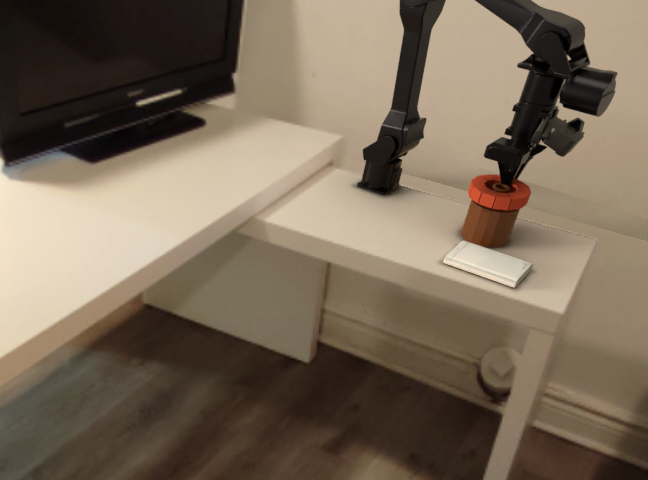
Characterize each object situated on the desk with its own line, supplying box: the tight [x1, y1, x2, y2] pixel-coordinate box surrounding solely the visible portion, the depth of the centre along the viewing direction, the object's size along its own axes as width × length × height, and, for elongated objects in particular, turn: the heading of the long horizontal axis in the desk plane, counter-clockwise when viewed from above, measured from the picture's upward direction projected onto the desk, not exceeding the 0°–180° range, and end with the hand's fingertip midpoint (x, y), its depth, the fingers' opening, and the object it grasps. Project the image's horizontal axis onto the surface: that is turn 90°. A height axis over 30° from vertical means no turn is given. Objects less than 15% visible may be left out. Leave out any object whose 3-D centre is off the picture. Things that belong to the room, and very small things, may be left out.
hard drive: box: [443, 239, 534, 289], centre depth 138 cm, size 2×8×12 cm
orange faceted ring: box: [467, 173, 532, 210], centre depth 142 cm, size 10×10×2 cm
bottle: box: [460, 183, 521, 249], centre depth 144 cm, size 8×8×10 cm
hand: (507, 185), depth 144 cm, fingers closed on orange faceted ring, 2 cm apart
